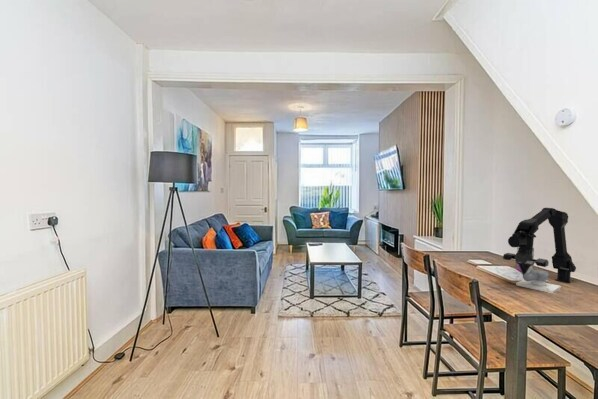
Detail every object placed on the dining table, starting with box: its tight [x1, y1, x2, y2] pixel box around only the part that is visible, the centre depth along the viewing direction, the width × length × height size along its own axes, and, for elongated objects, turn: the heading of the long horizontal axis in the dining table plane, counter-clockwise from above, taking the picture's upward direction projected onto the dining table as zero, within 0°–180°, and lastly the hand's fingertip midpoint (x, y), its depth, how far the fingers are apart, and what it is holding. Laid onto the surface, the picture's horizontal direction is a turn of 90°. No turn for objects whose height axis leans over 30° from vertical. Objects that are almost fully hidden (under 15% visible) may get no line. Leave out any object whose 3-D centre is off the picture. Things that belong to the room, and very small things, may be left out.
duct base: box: [515, 279, 562, 294], centre depth 174 cm, size 13×16×4 cm
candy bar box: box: [515, 247, 535, 273], centre depth 202 cm, size 11×5×16 cm, turn 168°
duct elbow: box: [522, 268, 549, 282], centre depth 172 cm, size 15×8×4 cm, turn 118°
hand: (523, 275), depth 172 cm, fingers closed
